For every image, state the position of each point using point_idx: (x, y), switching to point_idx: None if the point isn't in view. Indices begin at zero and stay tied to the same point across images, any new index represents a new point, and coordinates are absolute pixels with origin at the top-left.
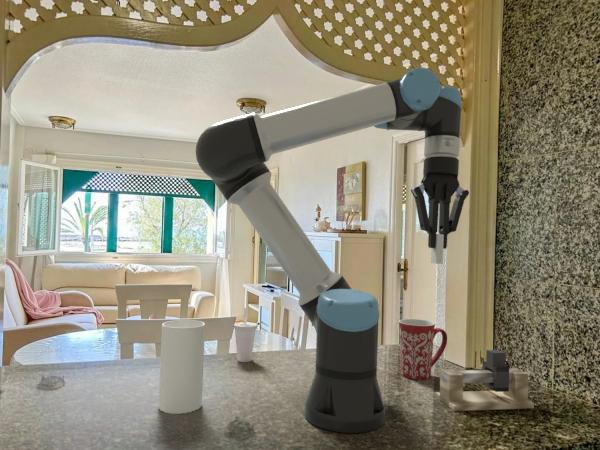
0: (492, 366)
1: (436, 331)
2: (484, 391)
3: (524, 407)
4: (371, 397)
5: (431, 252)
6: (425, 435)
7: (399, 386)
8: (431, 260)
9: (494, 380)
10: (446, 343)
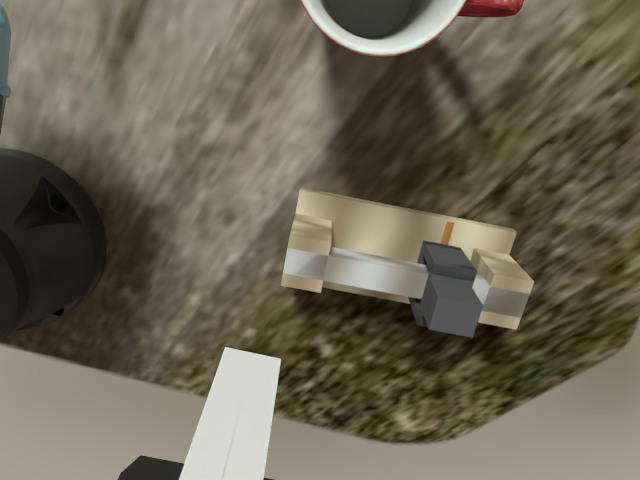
0: (421, 308)
1: (467, 4)
2: (438, 221)
3: None
4: (20, 331)
5: (205, 404)
6: (150, 352)
7: (250, 83)
8: (220, 363)
9: (413, 301)
10: (503, 16)
